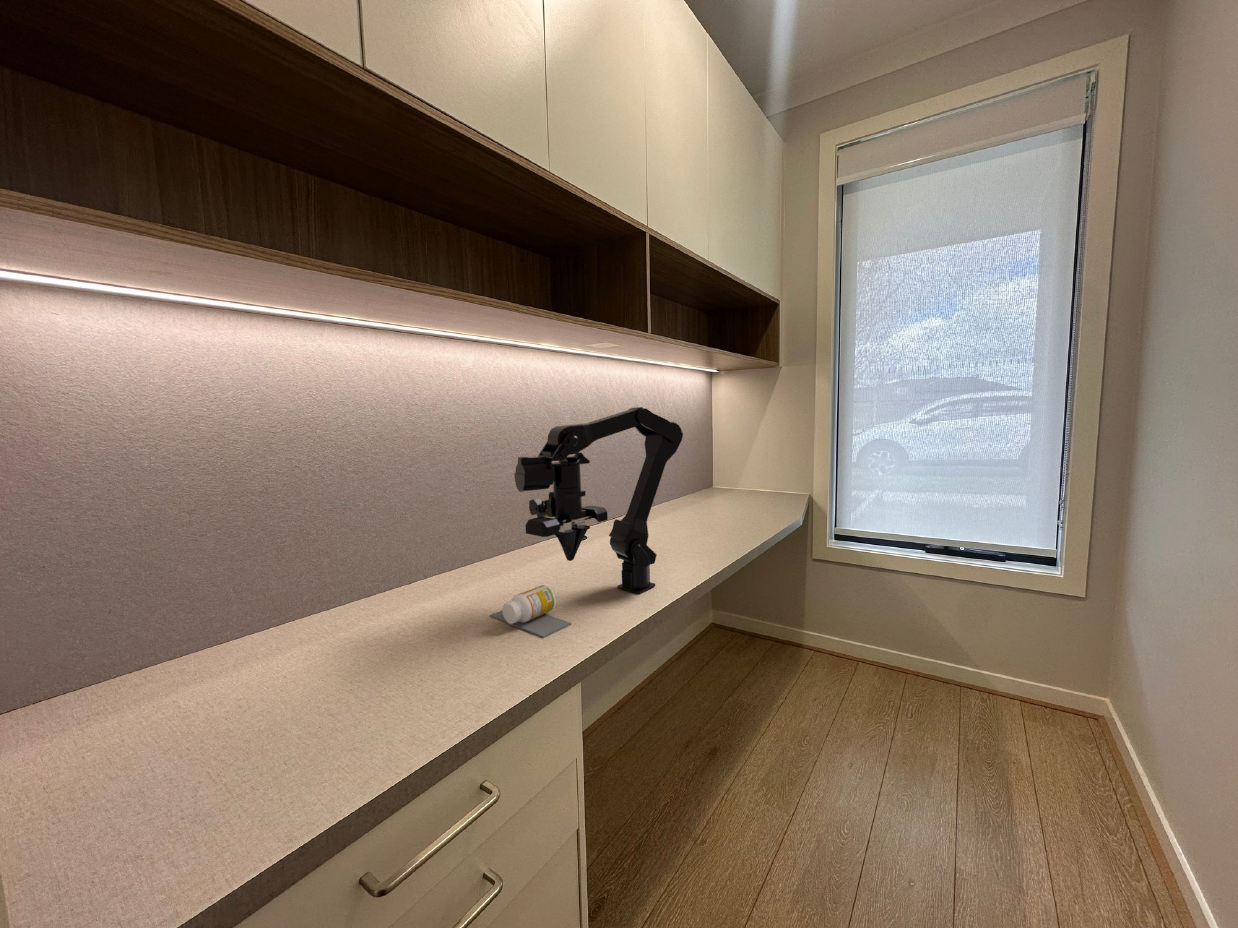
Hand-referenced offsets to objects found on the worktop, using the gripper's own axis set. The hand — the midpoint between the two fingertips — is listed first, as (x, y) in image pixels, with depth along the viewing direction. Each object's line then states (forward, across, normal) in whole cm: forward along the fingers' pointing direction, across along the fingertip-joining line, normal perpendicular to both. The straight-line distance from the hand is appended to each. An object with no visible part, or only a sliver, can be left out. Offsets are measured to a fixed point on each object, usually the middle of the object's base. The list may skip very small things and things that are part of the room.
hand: (570, 560), depth 101 cm
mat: (+9, +11, -1) cm, 14 cm away
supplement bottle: (+6, +6, -1) cm, 9 cm away
